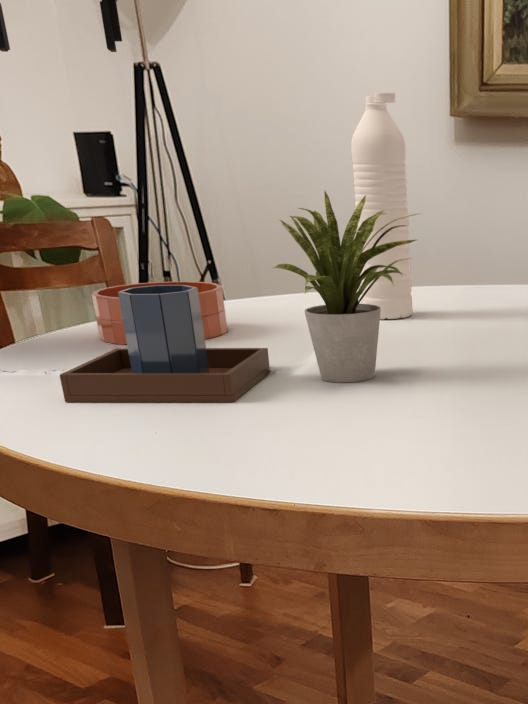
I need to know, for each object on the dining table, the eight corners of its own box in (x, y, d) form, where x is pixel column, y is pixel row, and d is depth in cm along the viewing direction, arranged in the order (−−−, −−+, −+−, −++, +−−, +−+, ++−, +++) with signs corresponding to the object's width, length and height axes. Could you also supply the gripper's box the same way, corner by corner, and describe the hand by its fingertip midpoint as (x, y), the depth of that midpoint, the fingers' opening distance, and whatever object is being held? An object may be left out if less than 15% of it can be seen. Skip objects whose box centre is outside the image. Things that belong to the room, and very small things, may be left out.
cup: (125, 387, 89) (108, 294, 85) (151, 373, 94) (137, 285, 91) (194, 387, 88) (180, 294, 84) (216, 373, 94) (204, 284, 90)
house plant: (394, 400, 85) (383, 193, 78) (248, 393, 88) (223, 194, 81) (439, 366, 97) (433, 185, 90) (310, 362, 101) (293, 187, 93)
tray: (64, 402, 87) (59, 374, 85) (120, 373, 97) (116, 348, 96) (233, 402, 85) (229, 374, 84) (270, 372, 96) (267, 347, 95)
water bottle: (357, 314, 129) (342, 96, 117) (405, 310, 130) (395, 96, 119) (373, 324, 121) (358, 92, 110) (423, 320, 123) (414, 92, 112)
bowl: (80, 350, 109) (70, 298, 106) (130, 328, 121) (122, 281, 119) (205, 350, 108) (198, 297, 105) (243, 328, 120) (237, 280, 118)
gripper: (123, -162, 90) (154, 54, 98) (-83, -173, 86) (-33, 53, 94) (119, -186, 84) (153, 47, 92) (-103, -199, 80) (-49, 46, 88)
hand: (58, 50), depth 93 cm, fingers open, 9 cm apart
